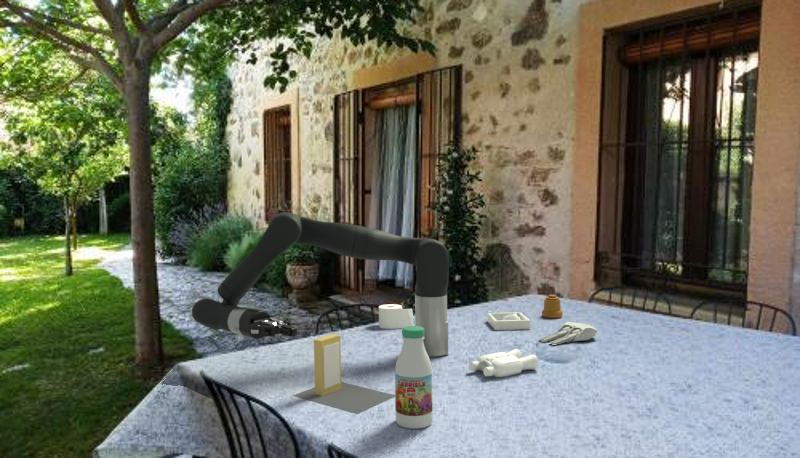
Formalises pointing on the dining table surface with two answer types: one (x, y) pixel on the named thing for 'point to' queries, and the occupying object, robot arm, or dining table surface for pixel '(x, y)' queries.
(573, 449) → the dining table surface
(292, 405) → the dining table surface
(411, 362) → the milk bottle
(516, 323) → the holder
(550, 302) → the ornamental finial
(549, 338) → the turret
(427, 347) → the robot arm
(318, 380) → the box
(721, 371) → the dining table surface
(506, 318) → the whipped cream
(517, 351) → the binoculars
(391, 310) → the toilet paper
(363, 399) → the mat
